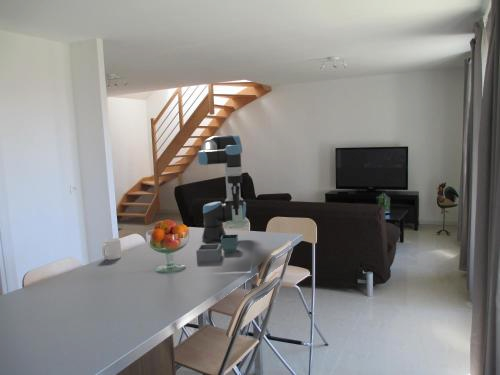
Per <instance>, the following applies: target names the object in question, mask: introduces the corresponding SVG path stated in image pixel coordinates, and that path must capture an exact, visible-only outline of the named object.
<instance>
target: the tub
mask: <svg viewBox="0 0 500 375" xmlns="http://www.w3.org/2000/svg"><path fill="white" fill-rule="evenodd" d="M222 250H223V248H222V243H207V244H206V243H205V244H204V243H203V244H200V245H199V246H198V247H197V249H196V250H195V251H196V253H195V254H196V263H198V264H201V263H219V262H220V261H221V258H222V256H223V252H222Z"/></svg>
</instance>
